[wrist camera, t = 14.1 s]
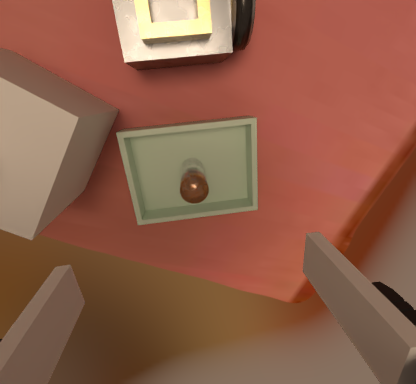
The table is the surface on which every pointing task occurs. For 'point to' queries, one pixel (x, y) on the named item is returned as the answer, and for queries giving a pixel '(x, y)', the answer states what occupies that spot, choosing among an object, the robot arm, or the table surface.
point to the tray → (180, 151)
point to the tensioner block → (182, 31)
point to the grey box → (44, 143)
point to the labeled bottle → (193, 181)
